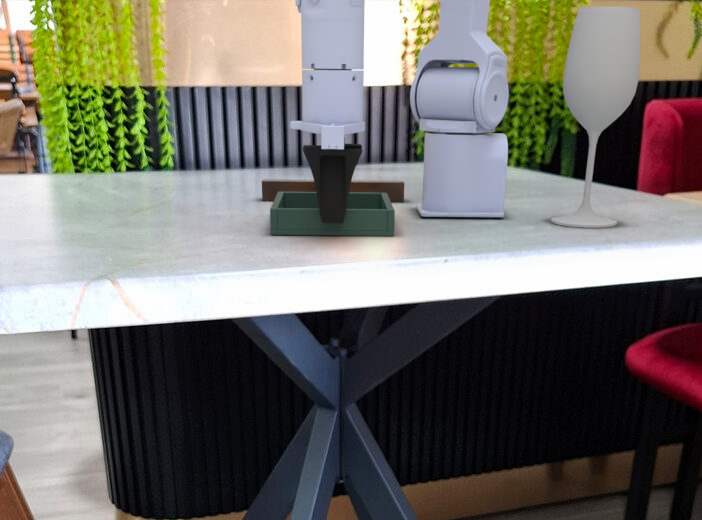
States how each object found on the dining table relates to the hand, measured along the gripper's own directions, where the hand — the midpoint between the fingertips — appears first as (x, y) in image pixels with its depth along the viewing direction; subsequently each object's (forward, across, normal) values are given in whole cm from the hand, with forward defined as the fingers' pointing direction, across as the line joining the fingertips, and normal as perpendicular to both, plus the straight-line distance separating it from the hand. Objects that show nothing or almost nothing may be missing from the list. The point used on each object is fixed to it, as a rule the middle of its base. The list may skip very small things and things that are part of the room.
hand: (332, 222), depth 88 cm
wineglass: (+2, -11, +28) cm, 30 cm away
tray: (+1, -8, 0) cm, 8 cm away
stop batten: (+1, -28, 0) cm, 28 cm away
